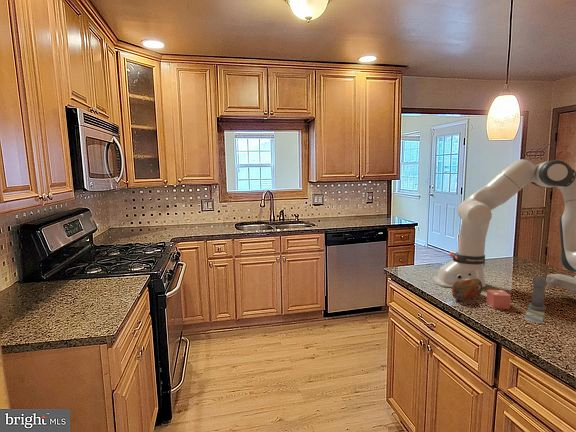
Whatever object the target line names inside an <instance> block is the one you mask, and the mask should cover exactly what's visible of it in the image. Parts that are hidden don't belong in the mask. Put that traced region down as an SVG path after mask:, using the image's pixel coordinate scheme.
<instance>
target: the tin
mask: <svg viewBox="0 0 576 432" xmlns="http://www.w3.org/2000/svg"><path fill="white" fill-rule="evenodd" d="M451 288H452V289H451V294H452V297H453V298H454V299H455V300H458V301H460V302H465V301H466V302H467V301H470V300H474V298H473V297H476V296H480V295H481V294H482V292H483V291H482V290H483V287H482V283H481V281H480V280H479V279H476V278H467V279H463V280H458V281H456V282H455V283H454V285H453V287H451Z"/></svg>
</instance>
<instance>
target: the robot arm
mask: <svg viewBox="0 0 576 432" xmlns="http://www.w3.org/2000/svg"><path fill="white" fill-rule="evenodd" d="M528 184H532V185H535V186H537V187H541V188H553V187H555V188H557V189H558V190H560V191H559V192H560V193H561V194H562V199H563V201H564V210H563V213H561V214H560V216H559V235H560V249H561V251H560V264H561V265H562V267H563V268H564V269H565V270H567V271H569V272H570V273H576V170H575V169H573V168H572V167H571V166H570V165H569V163H567V162H565V161H563V160H559V159H551V160H547V161H544V162H541V163H538V164H534V163H532V162H531V161H530V160H527V159H521V158H520V159H518V160H516V161H514V162H512V163H510V164H509V165H507V167H505V168H504V169H502V170H501V171H499V173H497V175H495V176H494V177H493V178H491V180H490V181H488V182H487V183H486V184H485V185H484V186H482V187H481V188H479V189H478V190H477V191H475V192H473V193H472V194H471V195H470V196H469V197H467V198H466V199H464V200H463V201H461V202H460V203H459V205H458V207H457V214H458V216H459V218H460V219H461V225H460V229H459V234H458V241H457V252H453V251H450V252H449V256H450V257H451V258H452V260H450V261H449V262H447V263H445V264H444V265H442V266H440V268H439V270H438V273H437V274H438V275H434V276H432V280H433V282H434V283H435V284H436V285H438V286H440V287H443V288H452V287H453V285H454V283H455V282H456V281H458V280H463V279H467V278H476V279H479V280H480V281H481V283H482V288H485V287H486V286H487V283H486V278H485V264H486V255H485V248H486V241H487V240H486V238H487V234H488V230H489V227H490V226H489V225H490V221H491V219H492V218H493V216H492V214H493V213H492V211H493V210H494V209H496V208H498V207H500V206H501V205H504V204H505V203H506V202H507V201H509V200H510V199H512V197H514V196H515V195H516V194H518V192H520V191H521V190H522V189H523V188H524V187H525V186H526V185H528ZM545 279H546V281H547V285H548V286H550V287H557V288H562V289H564V290H567V291H571V292H572V293H573V294H575V295H576V274H575V275H574V277H573V276H571V275H566V274H562V273H553V274H552V273H549V274H547V275H546V278H545Z"/></svg>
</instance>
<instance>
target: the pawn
mask: <svg viewBox="0 0 576 432" xmlns="http://www.w3.org/2000/svg"><path fill="white" fill-rule="evenodd" d="M546 279H547V278H544V277H543V276H535V277H533V279H532V294H531V295H532V296H531V302H529V303H528V307H529V308H531V309H530V310H532V309H533V310H534V311H536V310H537V311H538V312H541V311H545V312H546V310H545V309H547V308H546V305H545V304H544V301H545V293H546V286H547V285H548V283H547V281H546Z"/></svg>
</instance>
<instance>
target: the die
mask: <svg viewBox="0 0 576 432" xmlns="http://www.w3.org/2000/svg"><path fill="white" fill-rule="evenodd" d="M486 291H487V292H486V301H485V302H486V303H487V304H488V305H489V306H490V307H491V308H492V309H505V310H510V309H511V302H512V301H511V299H512V296H511V294H509V293H508V291H505V290H504V289H486Z"/></svg>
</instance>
